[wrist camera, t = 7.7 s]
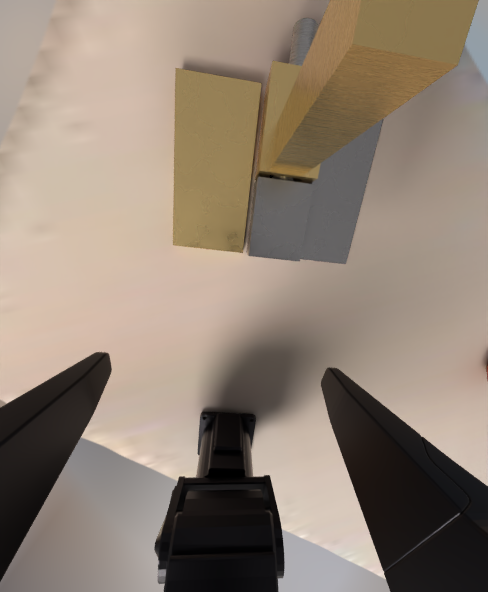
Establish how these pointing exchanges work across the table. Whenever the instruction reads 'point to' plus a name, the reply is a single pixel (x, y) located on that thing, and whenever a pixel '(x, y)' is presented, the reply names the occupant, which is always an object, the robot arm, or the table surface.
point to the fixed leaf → (312, 194)
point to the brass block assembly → (303, 107)
